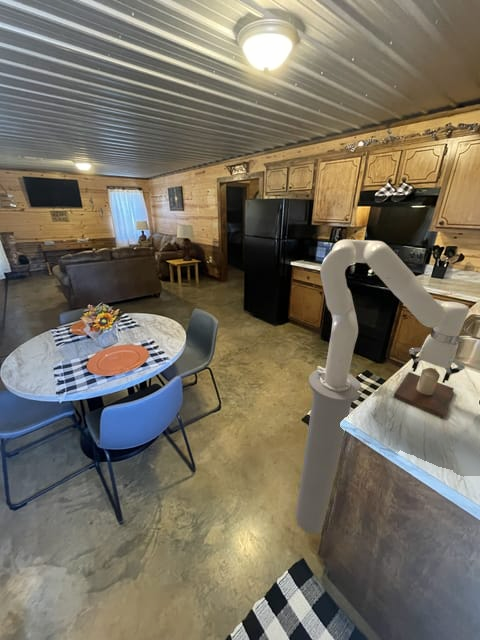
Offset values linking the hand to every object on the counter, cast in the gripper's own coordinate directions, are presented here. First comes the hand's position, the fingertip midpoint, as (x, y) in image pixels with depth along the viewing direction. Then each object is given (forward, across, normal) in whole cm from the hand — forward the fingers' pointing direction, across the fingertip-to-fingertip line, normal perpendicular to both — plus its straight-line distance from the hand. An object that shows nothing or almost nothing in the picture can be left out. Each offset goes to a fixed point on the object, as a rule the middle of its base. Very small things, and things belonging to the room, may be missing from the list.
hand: (428, 375), depth 100 cm
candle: (+7, 0, 0) cm, 7 cm away
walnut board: (+9, -1, 0) cm, 9 cm away
